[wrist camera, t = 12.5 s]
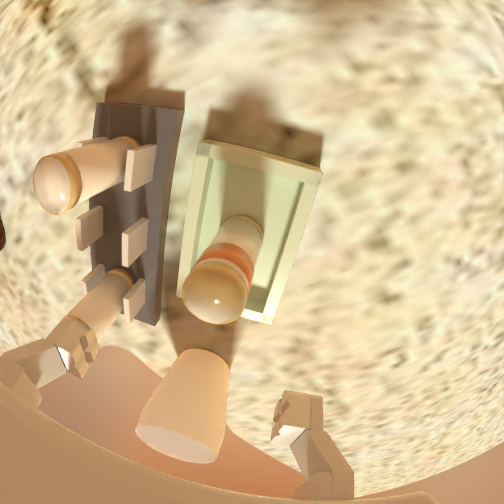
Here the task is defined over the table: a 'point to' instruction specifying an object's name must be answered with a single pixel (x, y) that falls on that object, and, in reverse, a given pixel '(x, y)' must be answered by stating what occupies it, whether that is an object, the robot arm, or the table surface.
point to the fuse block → (133, 205)
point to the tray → (249, 213)
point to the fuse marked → (224, 272)
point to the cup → (188, 408)
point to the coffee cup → (2, 238)
